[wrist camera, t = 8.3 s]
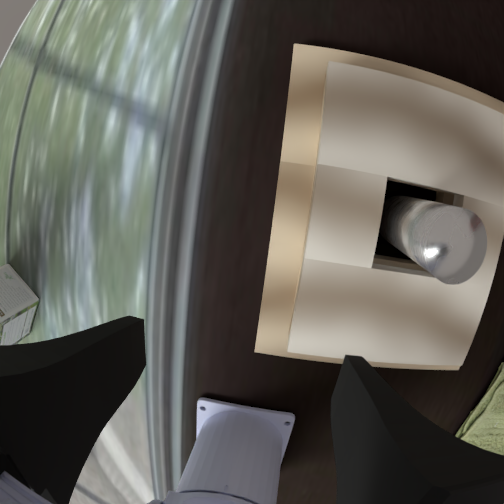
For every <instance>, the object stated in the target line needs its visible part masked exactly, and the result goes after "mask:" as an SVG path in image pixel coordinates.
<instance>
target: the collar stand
mask: <svg viewBox="0 0 504 504" xmlns="http://www.w3.org/2000/svg"><path fill="white" fill-rule="evenodd" d="M387 180H389V181H394V182H398V183H403V184H407V185H412V186H416V187H420V188H425V189H429V190H433V191H437V193H436V200H435V202H438V203H443V204H448V205H452V206H457V207H461V208H465V209H469V210H471V211H472V212H474V213H475V214H476V215H477V216H478V217H479V218H480V219H481V221H482V222H483V224H484V227H485V230H486V234H487V251H486V255H485V258H484V261H483V263H482V265H481V267H480V268H479V270H478V271H477V272H476V273H475V275H474V276H472V277H471V278H470V279H469V280H467V281H465V282H463V283H460V284H456V285H450V284H445V283H443V282H441V281H439V280H438V279H437V278H435V277H434V276H433V275H432V274H430V273H429V272H428V271H426V270H425V269H424V268H423V267H421V266H420V265H419V264H417V263H416V262H415V261H413V260H407V259H401V258H395V257H389V256H383V255H376V254H375V249H376V244H377V239H378V233H379V228H380V222H381V216H382V210H383V204H384V198H385V191H386V184H387ZM503 235H504V103H503V102H501V101H499V100H497V99H495V98H493V97H491V96H489V95H486V94H484V93H482V92H480V91H477V90H475V89H473V88H470V87H468V86H465V85H463V84H460V83H458V82H455V81H452V80H450V79H447V78H444V77H441V76H438V75H435V74H433V73H430V72H426V71H423V70H420V69H417V68H414V67H410V66H407V65H403V64H400V63H396V62H392V61H388V60H384V59H380V58H376V57H372V56H367V55H363V54H358V53H353V52H348V51H342V50H337V49H331V48H324V47H318V46H310V45H302V44H294V48H293V58H292V67H291V76H290V85H289V94H288V102H287V111H286V119H285V128H284V136H283V144H282V153H281V161H280V169H279V177H278V185H277V192H276V200H275V208H274V216H273V223H272V231H271V238H270V246H269V253H268V260H267V268H266V275H265V282H264V289H263V296H262V303H261V310H260V317H259V324H258V331H257V338H256V345H255V352H258V353H264V354H270V355H276V356H283V357H290V358H297V359H305V360H313V361H321V362H330V363H339V364H343V361H344V357H345V355H354V356H362V357H363V358H364V359H365V360H366V361H367V362H368V363H369V364H370V365H371V366H372V367H386V368H403V369H427V370H459V368H460V366H462V364H463V362H464V360H465V358H466V355H467V353H468V350H469V348H470V346H471V343H472V341H473V338H474V335H475V333H476V330H477V327H478V325H479V322H480V319H481V316H482V313H483V310H484V307H485V304H486V301H487V298H488V295H489V292H490V288H491V285H492V281H493V278H494V274H495V270H496V266H497V262H498V258H499V254H500V249H501V245H502V240H503Z"/></svg>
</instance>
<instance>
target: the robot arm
mask: <svg viewBox="0 0 504 504" xmlns="http://www.w3.org/2000/svg"><path fill="white" fill-rule="evenodd" d="M145 366H146V355H145V336H144V319H141V318H137V317H133V316H126V317H122V318H119V319H116V320H113V321H110V322H107V323H104V324H101V325H98V326H95V327H93V328H90V329H87V330H84V331H80V332H77V333H74V334H70V335H67V336H64V337H60V338H56V339H51V340H47V341H41V342H36V343H27V344H17V345H0V504H69V501H70V498H71V495H72V493H73V490H74V487H75V485H76V482H77V480H78V478H79V475H80V473H81V470H82V468H83V466H84V464H85V462H86V460H87V458H88V456H89V454H90V452H91V450H92V448H93V446H94V444H95V442H96V440H97V439H98V437H99V435H100V433H101V431H102V430H103V428H104V427H105V425H106V424H107V423H108V421H109V420H110V419H111V417H112V416H113V414H114V413H115V412H116V410H117V409H118V408H119V406H120V405H121V404H122V402H123V401H124V400H125V399H126V397H127V396H128V394H129V393H130V392H131V390H132V389H133V388H134V386H135V385H136V383H137V381H138V379H139V378H140V376H141V374H142V372H143V370H144V368H145ZM202 406H203V407H205V408H203V407H202ZM294 421H295V415H294V414H293V413H289V412H281V411H274V410H267V409H261V408H255V407H249V406H243V405H238V404H233V403H228V402H223V401H218V400H213V399H209V398H204V397H202V398H199V400H198V402H197V440H196V442H195V445H194V447H193V450H192V452H191V455H190V457H189V460H188V462H187V465H186V467H185V470H184V472H183V474H182V477H181V479H180V482H179V484H178V487H177V489H176V492H173V491H168V494H167V496H166V498H165V500H164V502H163V501H160V500H157V499H156V500H152V501H151V502H150V503H147V504H276V500H277V492H278V483H279V474H280V465H281V462H282V459H283V456H284V453H285V450H286V447H287V444H288V441H289V437H290V434H291V431H292V428H293V424H294ZM287 422H289V423H287ZM331 429H332V438H333V446H334V454H335V462H336V471H337V501H336V504H504V455H500V454H497V453H494V452H491V451H488V450H484V449H482V448H479V447H477V446H475V445H472V444H470V443H468V442H466V441H464V440H462V439H460V438H458V437H456V436H454V435H452V434H451V433H449V432H447V431H445V430H444V429H442V428H440V427H439V426H437V425H436V424H434V423H433V422H431V421H430V420H429V419H427V418H426V417H425V416H423V415H422V414H421V413H419V412H418V411H417V410H416V409H414V408H413V407H412V406H411V405H410V404H409V403H408V402H406V401H405V400H404V399H403V398H402V397H401V396H400V395H399V394H398V393H397V392H396V391H395V390H394V389H393V388H392V387H391V386H390V385H389V384H388V383H387V382H386V381H385V380H384V379H383V378H382V377H381V376H380V375H379V374H378V372H377V371H376V370H375V369H374V368H373V367H372V366H371V365H370V364H369V363H368V362H367V361H366V360H365V359H364V358H363V357H362V356H354V355H345V357H344V361H343V364H342V367H341V370H340V373H339V377H338V380H337V383H336V386H335V389H334V392H333V395H332V397H331Z"/></svg>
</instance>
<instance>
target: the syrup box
mask: <svg viewBox="0 0 504 504" xmlns="http://www.w3.org/2000/svg"><path fill="white" fill-rule="evenodd" d="M38 303H39V298H38V297H37V296H36V295H35V294H34V292H33V291H32V290H31V289H30V288H29V286H28V285H27V284H26V283H25V282H24V281H23V280H22V278H21V277H20V276H19V275H18V274H17V273H16V271H15V270H14V269H13V268H12V267H11V266H10V264H6V265H3V266H1V267H0V345H15V344H16V343H18V342H19V341H21V340H22V339H24V338H25V337H26V336H28V335H29V334H30V331H31V327H32V323H33V320H34V316H35V313H36V309H37V306H38Z"/></svg>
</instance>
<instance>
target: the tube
mask: <svg viewBox="0 0 504 504" xmlns="http://www.w3.org/2000/svg"><path fill="white" fill-rule="evenodd" d="M379 232H380V234H381V235H382V237H383V238H384V239H385V240H386V241H388V242H389V243H391V244H392V245H393V246H395V247H396V248H397V249H399V250H400V251H401V252H403V253H404V254H405V255H407V256H408V257H409V258H411V259H412V260H413V261H415V262H416V263H417V264H419V265H420V266H421V267H423V268H424V269H425V270H426V271H428V272H429V273H430V274H432V275H433V276H434V277H435V278H437V279H438V280H439V281H441V282H443V283H445V284H450V285H456V284H460V283H463V282H465V281H467V280H469V279H470V278H471V277H472V276H474V275H475V273H476V272H477V271H478V270H479V268H480V267H481V265H482V263H483V261H484V258H485V255H486V251H487V234H486V230H485V227H484V224H483V222H482V221H481V219H480V218H479V217H478V216H477V215H476V214H475V213H474V212H472V211H471V210H469V209H465V208H461V207H457V206H452V205H448V204H443V203H438V202H434V201H429V200H424V199H419V198H414V197H408V196H403V195H396V196H393V197H390V198H389V199H387V200H386V201H385V202H384V204H383V210H382V216H381V222H380V228H379Z"/></svg>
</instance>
